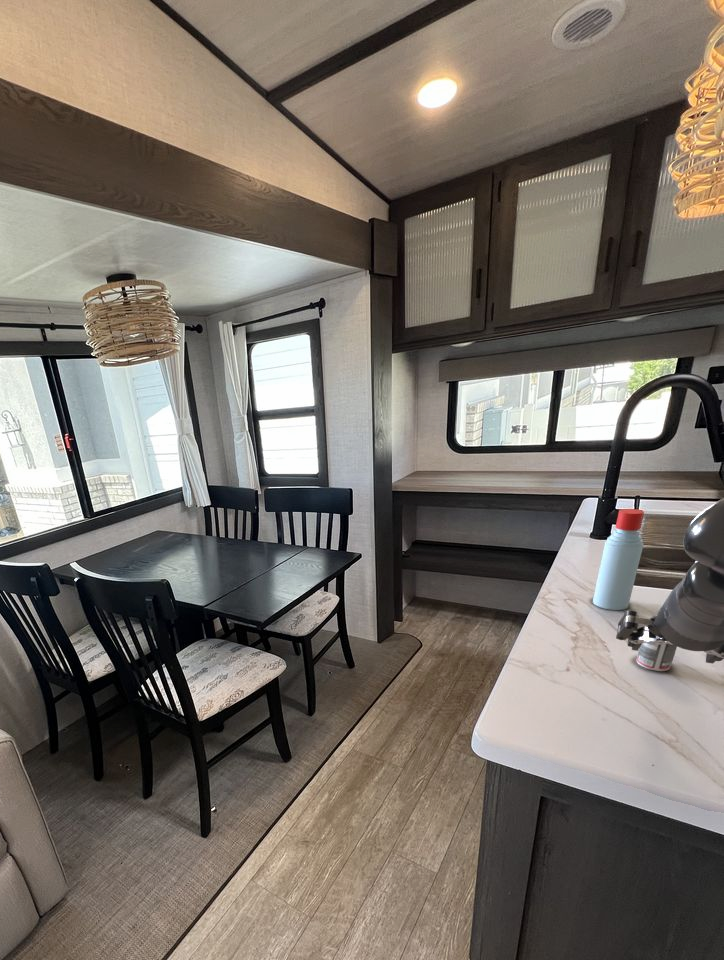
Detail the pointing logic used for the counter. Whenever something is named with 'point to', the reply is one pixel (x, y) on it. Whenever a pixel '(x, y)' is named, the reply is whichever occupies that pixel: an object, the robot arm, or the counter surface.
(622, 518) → the cap
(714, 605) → the robot arm
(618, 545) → the water bottle
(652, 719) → the counter surface
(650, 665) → the pill bottle
